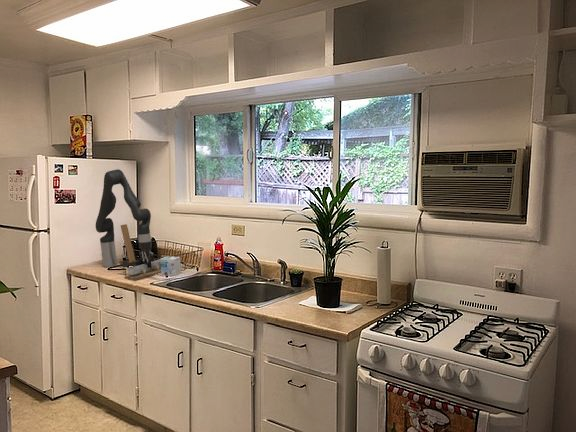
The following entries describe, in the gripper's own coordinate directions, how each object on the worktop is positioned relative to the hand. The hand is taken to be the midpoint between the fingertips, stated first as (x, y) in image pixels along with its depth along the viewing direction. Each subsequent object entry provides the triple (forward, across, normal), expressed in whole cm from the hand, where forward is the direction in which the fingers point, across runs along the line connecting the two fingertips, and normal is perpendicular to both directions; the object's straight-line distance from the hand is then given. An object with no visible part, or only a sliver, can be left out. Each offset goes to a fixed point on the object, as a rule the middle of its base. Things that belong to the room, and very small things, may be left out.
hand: (147, 267), depth 302 cm
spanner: (+1, 0, 0) cm, 1 cm away
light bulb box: (+5, +14, +7) cm, 16 cm away
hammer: (+5, -26, +5) cm, 27 cm away
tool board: (+5, 0, 0) cm, 5 cm away
